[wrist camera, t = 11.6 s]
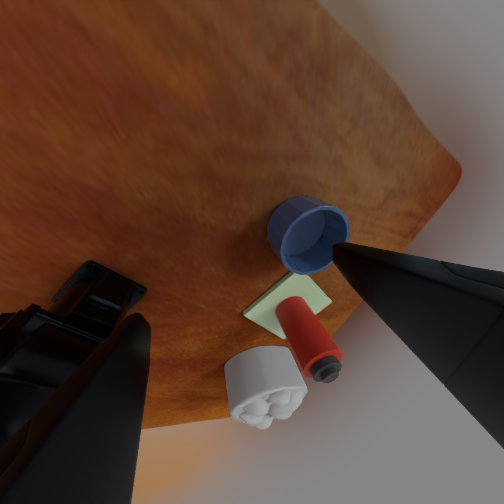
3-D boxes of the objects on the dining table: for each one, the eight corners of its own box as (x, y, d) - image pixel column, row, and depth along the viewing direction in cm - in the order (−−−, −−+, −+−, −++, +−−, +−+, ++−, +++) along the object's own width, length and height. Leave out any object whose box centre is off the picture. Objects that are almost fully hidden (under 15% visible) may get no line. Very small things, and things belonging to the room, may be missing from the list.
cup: (289, 265, 26) (304, 285, 22) (253, 229, 22) (265, 246, 18) (334, 226, 24) (359, 241, 21) (306, 180, 20) (331, 188, 16)
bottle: (286, 324, 31) (322, 394, 22) (268, 311, 28) (301, 386, 19) (310, 305, 30) (358, 370, 21) (294, 290, 27) (341, 358, 19)
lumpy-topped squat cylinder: (274, 376, 40) (291, 426, 33) (217, 381, 35) (222, 441, 28) (295, 345, 36) (319, 395, 29) (233, 346, 31) (244, 406, 24)
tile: (281, 335, 34) (283, 339, 33) (242, 311, 28) (243, 315, 27) (329, 298, 32) (332, 301, 31) (298, 264, 26) (300, 267, 25)
